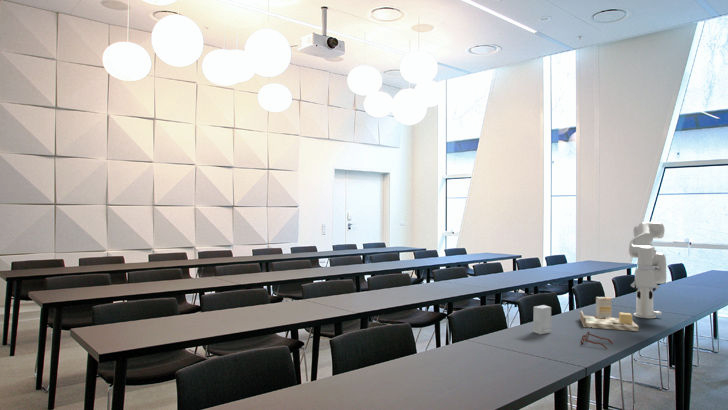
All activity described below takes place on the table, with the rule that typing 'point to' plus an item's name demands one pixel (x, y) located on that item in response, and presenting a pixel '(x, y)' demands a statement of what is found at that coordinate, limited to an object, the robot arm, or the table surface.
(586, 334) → the glasses
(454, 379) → the table surface
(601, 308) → the supplement box
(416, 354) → the table surface
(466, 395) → the table surface
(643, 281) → the robot arm
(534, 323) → the skincare box
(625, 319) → the ochre block
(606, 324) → the cream sorting tray
